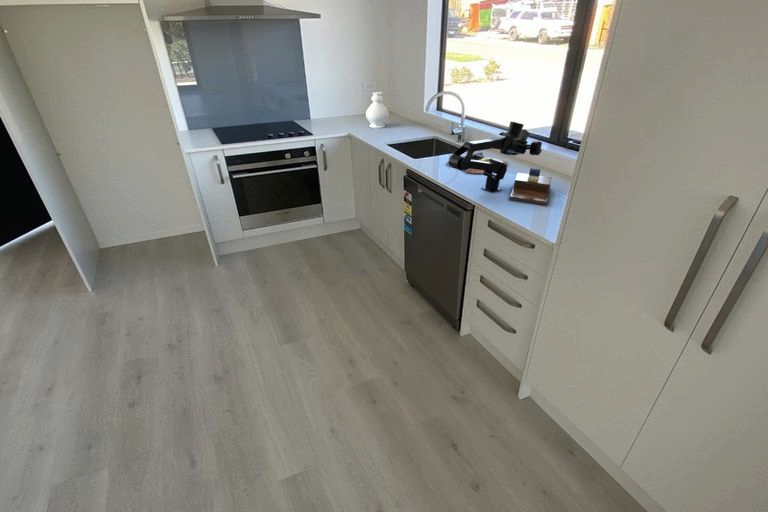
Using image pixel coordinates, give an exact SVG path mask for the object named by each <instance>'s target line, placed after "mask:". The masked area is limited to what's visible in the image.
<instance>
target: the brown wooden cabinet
mask: <svg viewBox="0 0 768 512" xmlns="http://www.w3.org/2000/svg"><path fill="white" fill-rule="evenodd" d="M528 177H529V173H523V172H517V174H516V177H515V179H514V182H513V188H512V191H511V193H510V195H509V201H511V202H519V203H526V204H532V205H537V206H543V207H545V206H547V203H548V197H549V192H550V188H551V184H552V176H547V175H539V179H538V182H535V181H528Z"/></svg>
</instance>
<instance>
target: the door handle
mask: <svg viewBox="0 0 768 512" xmlns="http://www.w3.org/2000/svg"><path fill="white" fill-rule="evenodd" d="M462 157H464V158H465V157H466V155H464V156H462ZM484 157H485V156H484V153H483V152H482V151H477V152H474V153H473V155H472V159H471V160H481V159H485V158H484Z"/></svg>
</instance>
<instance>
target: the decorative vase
mask: <svg viewBox="0 0 768 512" xmlns="http://www.w3.org/2000/svg"><path fill="white" fill-rule="evenodd" d="M370 98H371V101H372V103H371V104H370V105H369V106H368V107H367V108H366V111H365V117H366V119H367V121H368V122H369V123H370V124H369V128H371V129H383V128H385V127H386V125H385V122H386V121H387V120H388V119H389V116H390V115H389V110H388V108H387V107H386V106H385V104H384V103H383V100H384V97H383V92H381V91H375V92H374V91H373V92H372V96H371V97H370Z"/></svg>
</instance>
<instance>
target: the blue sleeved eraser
mask: <svg viewBox="0 0 768 512" xmlns="http://www.w3.org/2000/svg"><path fill="white" fill-rule="evenodd" d="M541 170H542V169H541V168H534V167H533V168H532V167H531V168H530V169H529V173H528V174H529V177H528V181H535V182H538V179H539V176H541V175H540V174H541Z"/></svg>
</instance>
